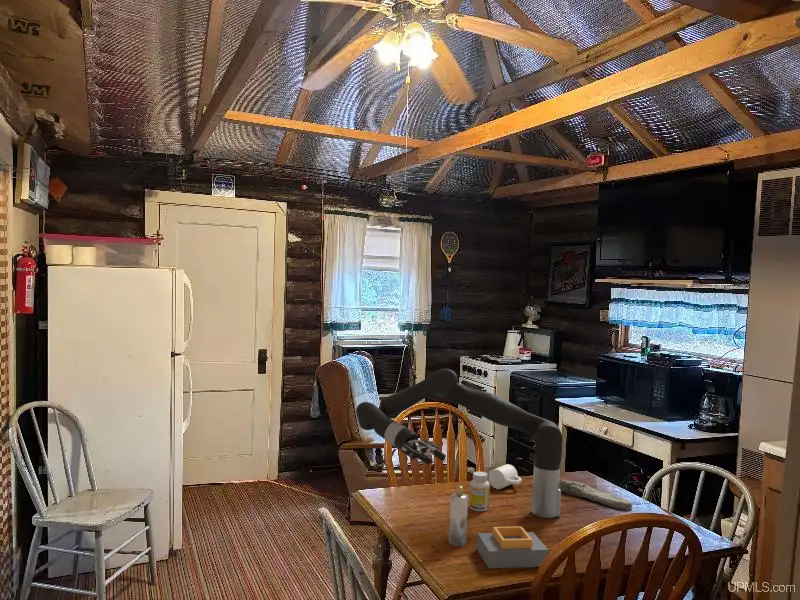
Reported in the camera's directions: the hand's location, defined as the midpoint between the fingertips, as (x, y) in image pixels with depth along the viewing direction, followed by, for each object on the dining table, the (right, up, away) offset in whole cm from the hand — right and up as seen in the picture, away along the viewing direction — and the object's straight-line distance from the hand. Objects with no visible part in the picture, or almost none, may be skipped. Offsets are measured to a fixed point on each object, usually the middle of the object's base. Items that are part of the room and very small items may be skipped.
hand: (437, 459), depth 186 cm
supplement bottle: (+17, -25, +25) cm, 39 cm away
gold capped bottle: (+6, -25, -4) cm, 26 cm away
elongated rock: (+62, -27, +42) cm, 80 cm away
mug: (+32, -25, +48) cm, 63 cm away
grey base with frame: (+21, -26, -13) cm, 36 cm away
